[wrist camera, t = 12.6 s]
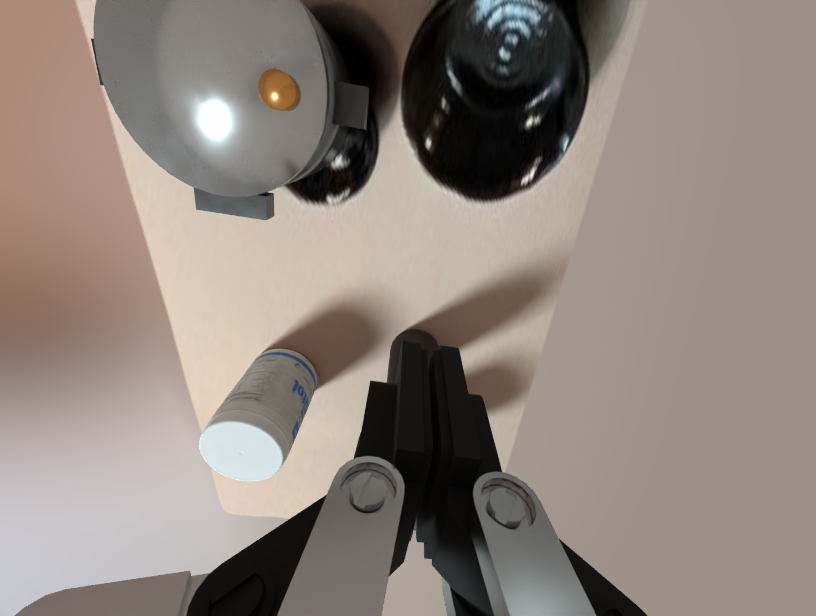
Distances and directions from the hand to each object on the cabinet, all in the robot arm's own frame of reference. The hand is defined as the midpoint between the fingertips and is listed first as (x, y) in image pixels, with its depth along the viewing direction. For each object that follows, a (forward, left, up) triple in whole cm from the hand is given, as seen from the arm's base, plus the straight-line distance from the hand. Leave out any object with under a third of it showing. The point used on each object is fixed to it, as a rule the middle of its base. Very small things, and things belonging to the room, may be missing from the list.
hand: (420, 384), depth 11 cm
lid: (-8, -16, -22) cm, 28 cm away
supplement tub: (+27, -15, -33) cm, 45 cm away
